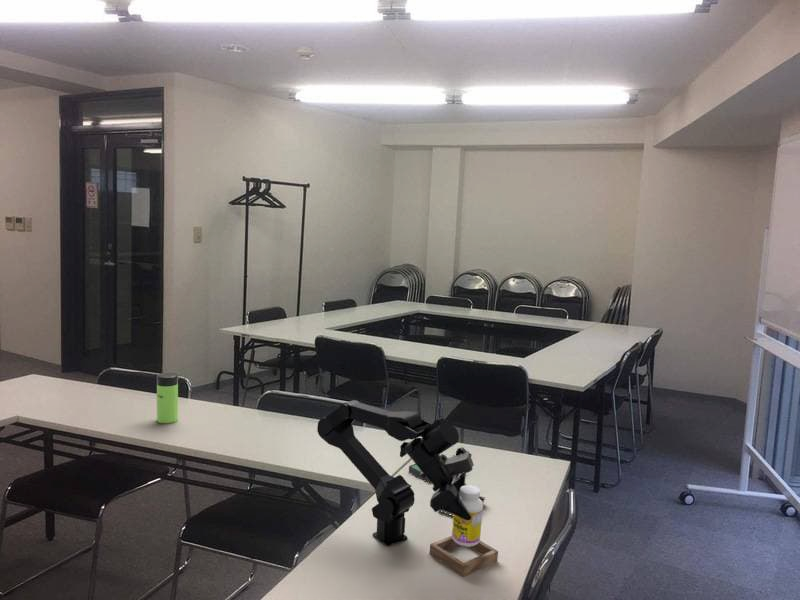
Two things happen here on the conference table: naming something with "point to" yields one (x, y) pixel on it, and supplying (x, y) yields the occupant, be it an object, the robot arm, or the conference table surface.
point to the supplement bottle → (470, 530)
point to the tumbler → (167, 397)
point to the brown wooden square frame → (462, 568)
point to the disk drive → (417, 472)
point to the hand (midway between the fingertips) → (471, 512)
